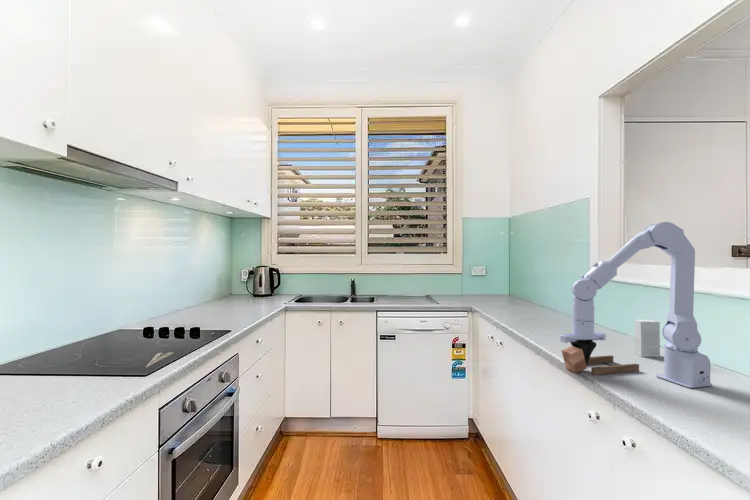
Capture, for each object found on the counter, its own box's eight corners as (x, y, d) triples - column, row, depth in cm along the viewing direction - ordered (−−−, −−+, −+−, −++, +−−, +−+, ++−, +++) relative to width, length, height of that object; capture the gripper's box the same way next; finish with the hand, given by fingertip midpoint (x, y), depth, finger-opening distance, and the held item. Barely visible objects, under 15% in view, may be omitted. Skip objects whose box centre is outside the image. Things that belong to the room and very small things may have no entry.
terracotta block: (587, 368, 112) (582, 349, 111) (576, 373, 111) (571, 353, 110) (576, 364, 115) (572, 345, 115) (566, 368, 114) (561, 350, 114)
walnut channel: (639, 371, 112) (639, 364, 112) (594, 375, 109) (594, 368, 109) (610, 361, 122) (610, 355, 122) (568, 364, 118) (568, 358, 118)
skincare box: (652, 354, 131) (652, 319, 131) (660, 357, 127) (660, 321, 127) (633, 353, 132) (633, 319, 132) (641, 357, 127) (641, 321, 127)
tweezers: (159, 355, 129) (159, 349, 129) (174, 355, 130) (174, 349, 129) (132, 376, 112) (132, 369, 112) (149, 376, 112) (149, 369, 112)
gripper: (592, 316, 119) (592, 359, 119) (553, 318, 116) (553, 362, 116) (611, 320, 112) (611, 366, 112) (570, 322, 109) (570, 369, 109)
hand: (583, 365), depth 114 cm, fingers closed
